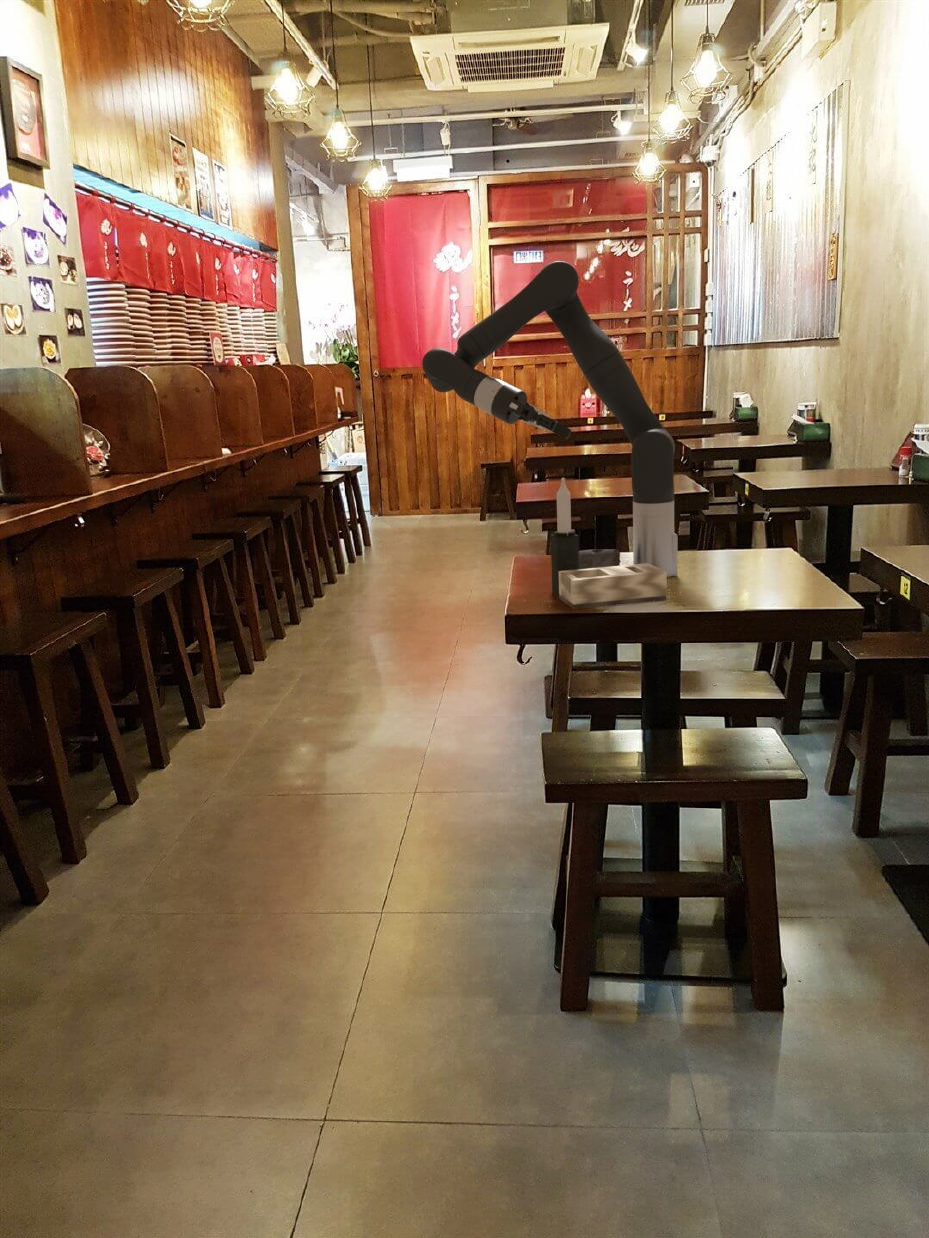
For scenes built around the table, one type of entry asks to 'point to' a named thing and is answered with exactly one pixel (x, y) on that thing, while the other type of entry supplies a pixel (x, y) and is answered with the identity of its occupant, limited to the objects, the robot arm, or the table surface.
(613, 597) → the stand
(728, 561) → the table surface
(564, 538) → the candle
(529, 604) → the table surface
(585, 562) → the perforated stone tool
